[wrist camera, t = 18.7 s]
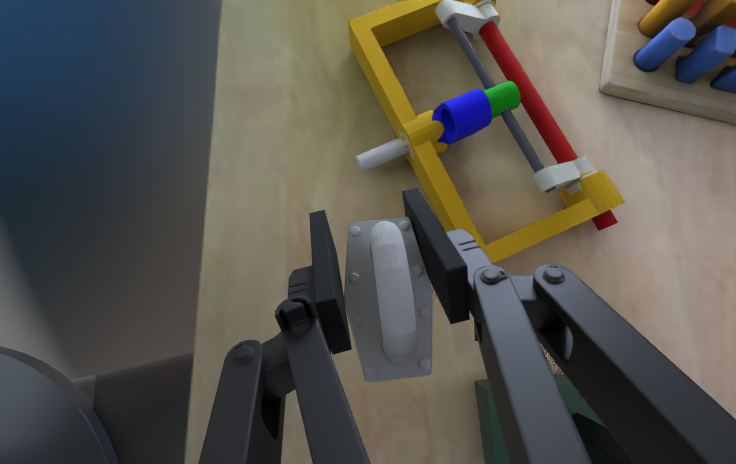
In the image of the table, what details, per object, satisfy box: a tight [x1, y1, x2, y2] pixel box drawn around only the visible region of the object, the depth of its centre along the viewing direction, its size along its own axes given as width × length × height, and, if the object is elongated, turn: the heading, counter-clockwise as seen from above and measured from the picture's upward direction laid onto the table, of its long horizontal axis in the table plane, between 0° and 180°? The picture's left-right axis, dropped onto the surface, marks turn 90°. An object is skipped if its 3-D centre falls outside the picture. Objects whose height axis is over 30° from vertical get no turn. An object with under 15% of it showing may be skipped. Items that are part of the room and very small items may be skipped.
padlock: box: [344, 217, 433, 382], centre depth 16 cm, size 7×4×10 cm, turn 7°
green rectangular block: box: [475, 374, 605, 464], centre depth 27 cm, size 14×10×3 cm
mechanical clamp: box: [348, 0, 625, 264], centre depth 31 cm, size 18×6×30 cm
